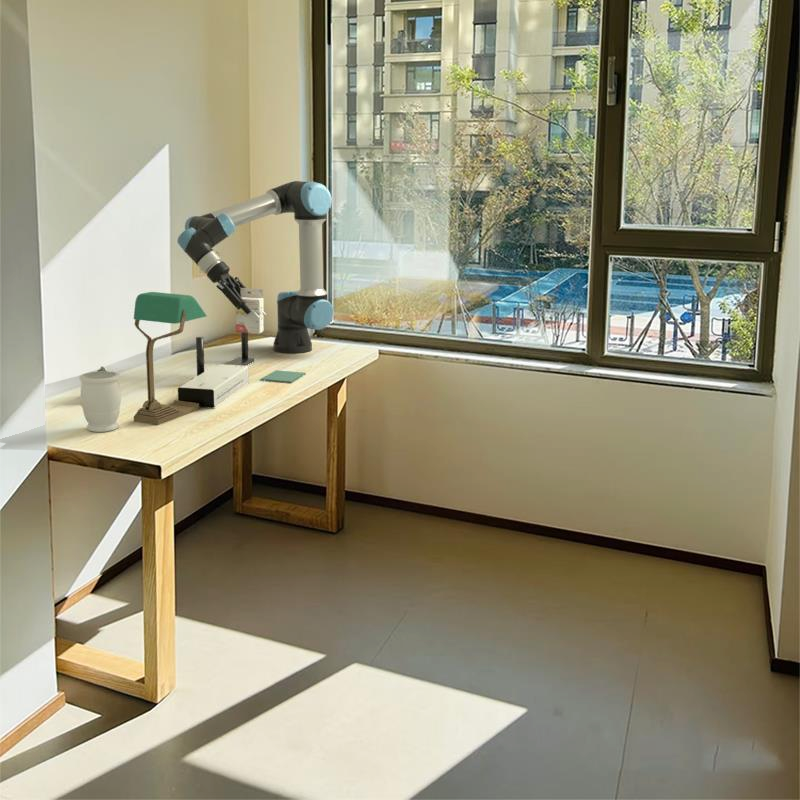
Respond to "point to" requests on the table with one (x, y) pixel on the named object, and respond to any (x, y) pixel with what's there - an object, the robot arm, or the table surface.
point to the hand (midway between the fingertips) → (260, 318)
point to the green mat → (283, 376)
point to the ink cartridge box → (256, 304)
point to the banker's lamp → (165, 311)
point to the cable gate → (237, 361)
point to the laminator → (214, 385)
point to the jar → (100, 400)
